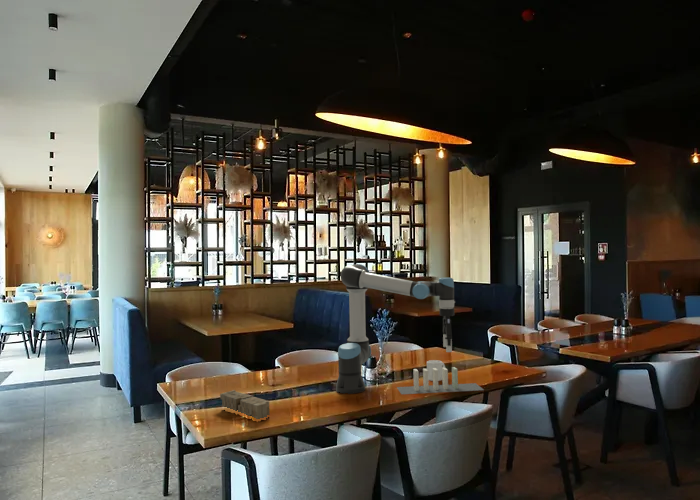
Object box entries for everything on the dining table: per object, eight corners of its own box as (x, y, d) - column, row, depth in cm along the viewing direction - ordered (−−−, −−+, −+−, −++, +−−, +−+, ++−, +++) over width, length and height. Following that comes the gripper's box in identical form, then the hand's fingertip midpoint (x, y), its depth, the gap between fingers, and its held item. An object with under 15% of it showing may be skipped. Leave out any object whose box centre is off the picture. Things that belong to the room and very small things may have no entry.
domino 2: (425, 390, 270) (425, 370, 270) (423, 388, 275) (422, 368, 275) (428, 390, 270) (428, 370, 270) (426, 387, 275) (425, 368, 275)
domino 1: (415, 391, 269) (415, 371, 269) (413, 388, 274) (413, 369, 274) (418, 390, 270) (418, 371, 270) (416, 388, 275) (416, 368, 275)
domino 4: (445, 389, 271) (444, 369, 271) (442, 387, 276) (442, 367, 276) (448, 389, 271) (447, 369, 271) (445, 386, 276) (445, 367, 276)
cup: (424, 380, 294) (423, 361, 294) (439, 376, 301) (439, 358, 301) (434, 382, 287) (434, 363, 287) (450, 379, 294) (450, 360, 294)
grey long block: (271, 420, 234) (234, 406, 255) (271, 401, 234) (234, 388, 254) (256, 425, 228) (220, 410, 249) (256, 405, 228) (220, 392, 249)
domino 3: (435, 390, 270) (434, 370, 270) (433, 387, 275) (432, 368, 275) (438, 389, 270) (437, 370, 270) (436, 387, 275) (435, 368, 275)
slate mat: (401, 395, 264) (401, 394, 264) (396, 388, 278) (396, 387, 278) (484, 391, 268) (484, 390, 268) (475, 384, 282) (475, 383, 282)
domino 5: (455, 386, 276) (454, 367, 276) (458, 388, 271) (457, 369, 271) (452, 386, 276) (451, 367, 276) (454, 389, 271) (454, 369, 271)
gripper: (457, 310, 261) (458, 354, 261) (451, 305, 286) (451, 344, 286) (441, 310, 261) (442, 354, 261) (437, 305, 286) (437, 345, 286)
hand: (447, 349), depth 274 cm, fingers open, 13 cm apart
